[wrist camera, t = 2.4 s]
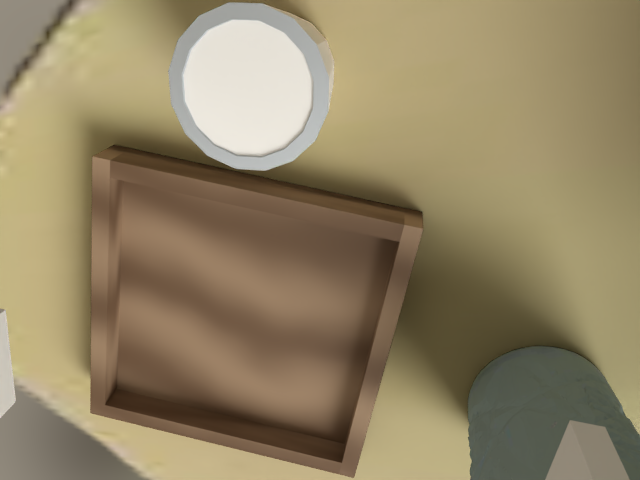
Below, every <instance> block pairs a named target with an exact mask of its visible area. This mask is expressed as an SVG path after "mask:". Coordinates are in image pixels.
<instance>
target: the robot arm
mask: <svg viewBox="0 0 640 480" xmlns="http://www.w3.org/2000/svg"><path fill="white" fill-rule="evenodd" d="M15 402H16V399H15V390H14V381H13V372H12V363H11V354H10V345H9V336H8V327H7V318H6V310H4V309H0V418H1V417H2V415H4V413H5V412H6V411H7V410H8V409H9V408H10V407H11V406H12V405H13V404H14V403H15ZM545 480H630V479H629V477H628V475H627V473H626V471H625V469H624V466H623V464H622V462H621V460H620V458H619V456H618V454H617V451H616V449H615V447H614V445H613V443H612V441H611V438H610V436H609V434H608V432H607V430H606V428H605V427H603V426H598V425H592V424H587V423H582V422H577V421H572V420H570V421H569V424H568V426H567V428H566V431H565V433H564V436H563V438H562V440H561V443H560V445H559V448H558V450H557V452H556V455H555V457H554V460H553V462H552V464H551V467H550V469H549V472H548V474H547V476H546V479H545Z"/></svg>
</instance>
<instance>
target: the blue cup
mask: <svg viewBox="0 0 640 480" xmlns="http://www.w3.org/2000/svg"><path fill="white" fill-rule="evenodd" d="M570 420H572V421H577V422H582V423H587V424H592V425H598V426H603V427H605V428H606V430H607V432H608V434H609V436H610V438H611V441H612V443H613V445H614V447H615V449H616V451H617V454H618V456H619V458H620V460H621V462H622V464H623V466H624V469H625V471H626V473H627V475H628V477H629V479H630V480H640V435H639V434H638V433H637V431H636V429H635V428H634V426H633V424H632V422H631V421H630V419H628V418H627V417H626V415H625V413H624V411H623V408H622V405H621V404H620V402H619V400H618V399H617V397H616V395H615V394H614V392H613V390H612V389H611V387H610V385H609V384H608V382H607V380H606V379H605V377H604V376H603V374H602V373H601V372H600V371H599V370H598V369H597V368H596V367H595V366H594V365H593V364H592V363H590V362H589V361H588V360H586V359H585V358H583V357H582V356H580V355H578V354H576V353H574V352H571V351H568V350H565V349H562V348H557V347H548V346H533V347H526V348H521V349H516V350H513V351H511V352H508V353H506V354H504V355H502V356H500V357H498V358H496V359H495V360H493V361H492V362H490V363H489V364H488V365H487V366H486V367H485V368H484V369H483V370H481V372H480V373H479V374H478V375H477V377H476V379H475V380H474V382H473V385H472V387H471V390H470V393H469V397H468V421H469V424H470V425H469V428H468V432H469V437H468V439H469V447H470V449H471V450H470V457H471V460H472V463H471V467H470V475H471V479H470V480H545V479H546V476H547V474H548V472H549V469H550V467H551V464H552V462H553V460H554V457H555V455H556V452H557V450H558V448H559V445H560V443H561V440H562V438H563V436H564V433H565V431H566V428H567V426H568V424H569V421H570Z"/></svg>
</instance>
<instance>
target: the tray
mask: <svg viewBox="0 0 640 480" xmlns="http://www.w3.org/2000/svg"><path fill="white" fill-rule="evenodd" d="M422 232H423V215H422V212H420V211H416V210H411V209H407V208H402V207H397V206H393V205H388V204H384V203H379V202H374V201H370V200H365V199H361V198H356V197H352V196H347V195H342V194H338V193H333V192H329V191H324V190H319V189H315V188H310V187H306V186H301V185H296V184H292V183H287V182H283V181H278V180H273V179H269V178H264V177H260V176H255V175H250V174H246V173H241V172H237V171H232V170H227V169H223V168H218V167H214V166H209V165H204V164H200V163H195V162H191V161H186V160H182V159H177V158H172V157H168V156H163V155H159V154H154V153H149V152H145V151H140V150H136V149H131V148H126V147H122V146H117V145H113V146H111V147H109V148H107V149H105V150H103V151H102V152H100V153H98V154H96V155H94V156H92V267H91V409H90V413H92V414H96V415H100V416H104V417H108V418H112V419H116V420H121V421H125V422H129V423H133V424H137V425H141V426H145V427H149V428H153V429H157V430H161V431H165V432H169V433H173V434H178V435H182V436H186V437H190V438H194V439H198V440H202V441H206V442H210V443H214V444H218V445H222V446H226V447H230V448H234V449H239V450H243V451H247V452H251V453H255V454H259V455H263V456H267V457H271V458H275V459H279V460H283V461H287V462H291V463H296V464H300V465H304V466H308V467H312V468H316V469H320V470H324V471H328V472H332V473H336V474H340V475H344V476H348V477H352V478H354V476H355V472H356V469H357V465H358V462H359V458H360V455H361V451H362V447H363V444H364V440H365V437H366V433H367V429H368V426H369V422H370V419H371V415H372V412H373V408H374V404H375V401H376V397H377V394H378V390H379V386H380V383H381V379H382V376H383V372H384V368H385V365H386V361H387V358H388V354H389V351H390V347H391V343H392V340H393V336H394V333H395V329H396V325H397V322H398V318H399V315H400V311H401V308H402V304H403V300H404V297H405V293H406V290H407V286H408V282H409V279H410V275H411V272H412V268H413V265H414V261H415V257H416V254H417V250H418V247H419V243H420V239H421V236H422Z"/></svg>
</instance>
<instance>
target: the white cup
mask: <svg viewBox="0 0 640 480" xmlns="http://www.w3.org/2000/svg"><path fill="white" fill-rule="evenodd" d="M168 72H169V84H170V96H171V105H172V107H173V109H174V111H175V113H176V115H177V117H178V119H179V122H180V124H181V126H182V128H183V130H184V132H185V134H186V135H187V136H188V137H189V138H190V139H191V140H192V141H193V142H194V143H195V144H196V145H197V146H198V147H199V148H200V149H201V150H202V151H203V152H204V153H205V154H206V155H207V156H209V157H211V158H213V159H215V160H217V161H220V162H222V163H224V164H226V165H228V166H230V167H233V168H235V169H246V170H262V171H266V170H269V169H272V168H274V167H277V166H280V165H283V164H286V163H289V162H292V161H294V160H295V159H296V158H297V157H298V156H299V155H300V154H301V153H302V152H303V151H305V150H306V149H307V148H308V147H309V146H310V145H311V144H312V143H313V142H314V141H315V140H316V138H317V136H318V134H319V131H320V129H321V127H322V124H323V122H324V120H325V118H326V115H327V113H328V110H329V105H330V100H331V94H332V89H333V84H334V59H333V56H332V54H331V51H330V48H329V45H328V42H327V40H326V39H325V38H324V36H323V35H322V34H321V33H320V32H319V31H318V30H317V29H316V27H315V26H314V25H313V24H312V23H310V22H308V21H306V20H304V19H302V18H300V17H298V16H296V15H294V14H292V13H289V12H286V11H283V10H280V9H277V8H274V7H271V6H268V5H265V4H263V3H230V2H228V3H226V4H224V5H222V6H219V7H217V8H215V9H213V10H210V11H208V12H206V13H204V14H201V15H199V16H198V17H197V18H196V20H195V21H194V22H193V23H192V24H191V25H190V27H189V28H188V29H187V30H186V31H185V32H184V34H183V35H182V36H181V37H180V38H179V39H178V41H177V45H176V48H175V51H174V54H173V58H172V61H171V64H170V68H169V71H168Z"/></svg>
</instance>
